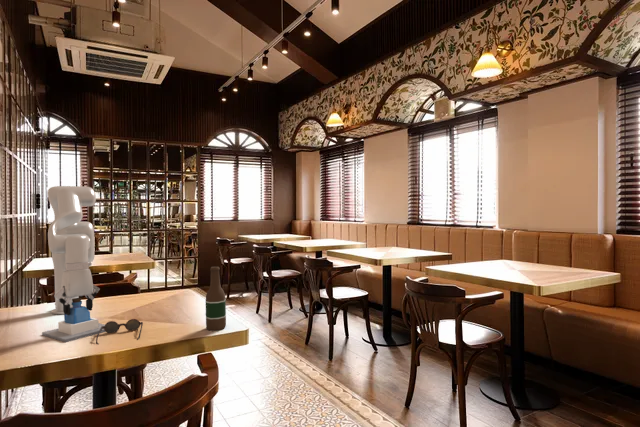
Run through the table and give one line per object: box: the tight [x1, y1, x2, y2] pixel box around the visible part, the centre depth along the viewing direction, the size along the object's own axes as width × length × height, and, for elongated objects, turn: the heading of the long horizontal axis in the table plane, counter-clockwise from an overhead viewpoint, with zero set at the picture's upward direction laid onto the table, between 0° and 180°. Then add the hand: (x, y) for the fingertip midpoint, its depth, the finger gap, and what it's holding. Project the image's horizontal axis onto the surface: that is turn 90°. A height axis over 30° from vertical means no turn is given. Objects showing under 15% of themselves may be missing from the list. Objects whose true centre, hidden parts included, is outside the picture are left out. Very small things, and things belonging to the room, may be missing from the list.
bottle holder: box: [41, 316, 107, 343], centre depth 157 cm, size 18×18×4 cm
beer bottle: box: [205, 266, 227, 332], centre depth 158 cm, size 8×8×24 cm
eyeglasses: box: [95, 318, 144, 345], centre depth 150 cm, size 15×15×5 cm
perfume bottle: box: [63, 297, 91, 324], centre depth 157 cm, size 6×6×12 cm
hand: (78, 312), depth 157 cm, fingers open, 7 cm apart
